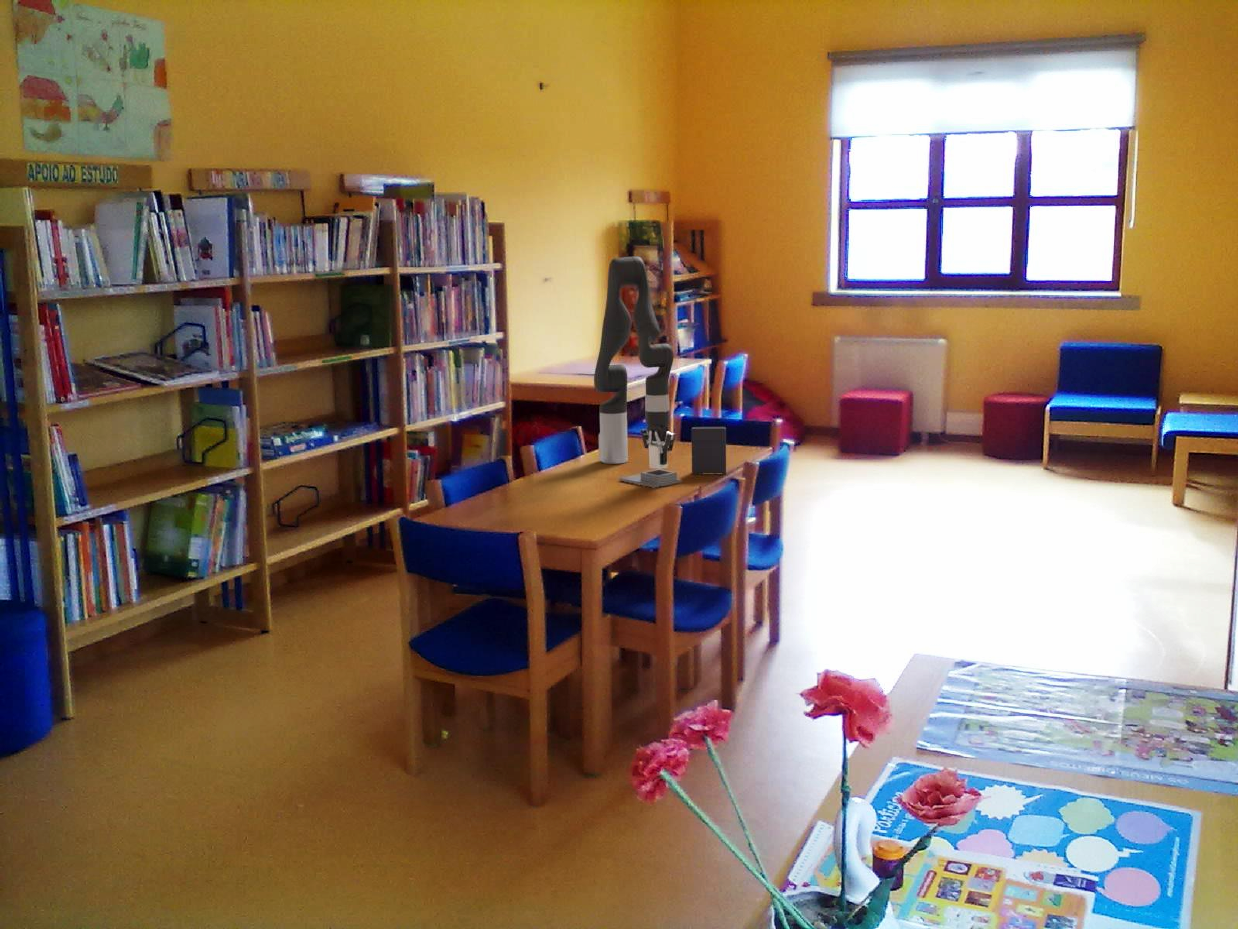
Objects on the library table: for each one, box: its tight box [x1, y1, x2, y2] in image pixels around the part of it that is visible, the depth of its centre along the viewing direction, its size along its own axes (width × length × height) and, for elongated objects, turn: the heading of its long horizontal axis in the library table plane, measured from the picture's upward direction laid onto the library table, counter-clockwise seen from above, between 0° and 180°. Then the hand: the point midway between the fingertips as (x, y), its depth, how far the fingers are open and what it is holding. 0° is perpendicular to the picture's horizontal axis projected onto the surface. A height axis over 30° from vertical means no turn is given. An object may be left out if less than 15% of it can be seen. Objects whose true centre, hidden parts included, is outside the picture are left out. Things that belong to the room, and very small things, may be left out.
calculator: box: [690, 426, 727, 475], centre depth 386 cm, size 11×4×15 cm, turn 84°
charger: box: [648, 442, 669, 470], centre depth 372 cm, size 4×4×8 cm
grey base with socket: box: [618, 468, 682, 489], centre depth 377 cm, size 16×12×4 cm
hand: (658, 463), depth 373 cm, fingers closed on charger, 4 cm apart
